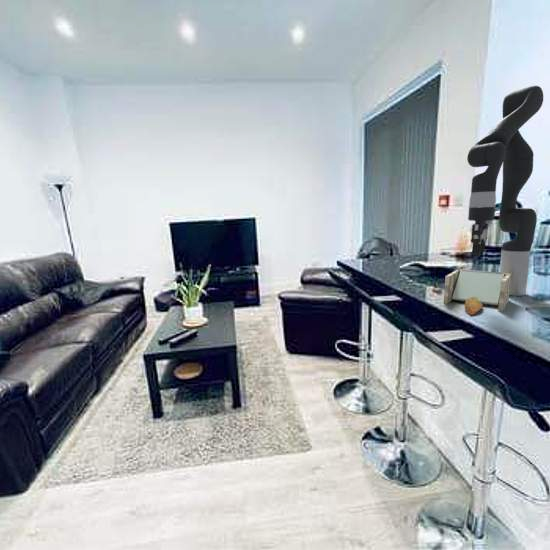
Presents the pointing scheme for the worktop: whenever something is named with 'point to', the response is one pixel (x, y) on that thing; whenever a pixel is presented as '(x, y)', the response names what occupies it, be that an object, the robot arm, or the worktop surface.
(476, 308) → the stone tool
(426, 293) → the worktop surface
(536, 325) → the worktop surface
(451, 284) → the trapdoor frame
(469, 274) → the trapdoor
